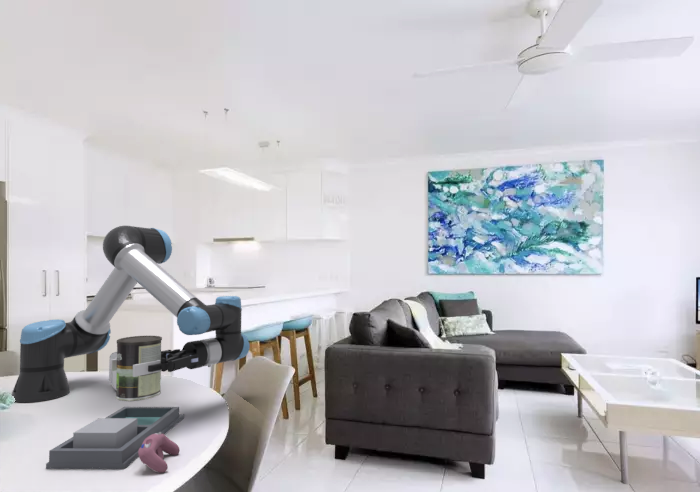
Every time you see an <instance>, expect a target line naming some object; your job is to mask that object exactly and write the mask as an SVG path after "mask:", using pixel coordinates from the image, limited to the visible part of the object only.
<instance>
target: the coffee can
mask: <svg viewBox="0 0 700 492" xmlns="http://www.w3.org/2000/svg"><path fill="white" fill-rule="evenodd" d="M162 339H163V337H162V336H159V335H136V336H127V337H121V338H118V339H117V340H116V352H117V377H116V389H115V400H118V401H120V402H121V401H122V402H138V401H144V400H148V399H152V398H156V397H158V396H159V395H160V394H162V392H161V391H162V390H161V380H162V371H161V370H160V372H156V373H151V374H146V375H141V376H136V377H133V365H135V364H141V363H146V362H152V361H157V360H160V363H161V351H162V341H163V340H162Z"/></svg>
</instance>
